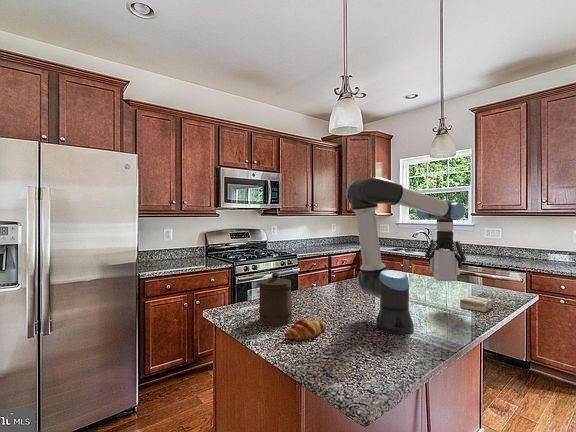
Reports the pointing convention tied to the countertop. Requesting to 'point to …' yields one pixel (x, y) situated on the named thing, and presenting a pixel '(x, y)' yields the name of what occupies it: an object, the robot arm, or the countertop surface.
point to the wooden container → (275, 301)
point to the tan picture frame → (476, 303)
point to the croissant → (305, 329)
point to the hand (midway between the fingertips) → (444, 273)
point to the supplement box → (444, 265)
